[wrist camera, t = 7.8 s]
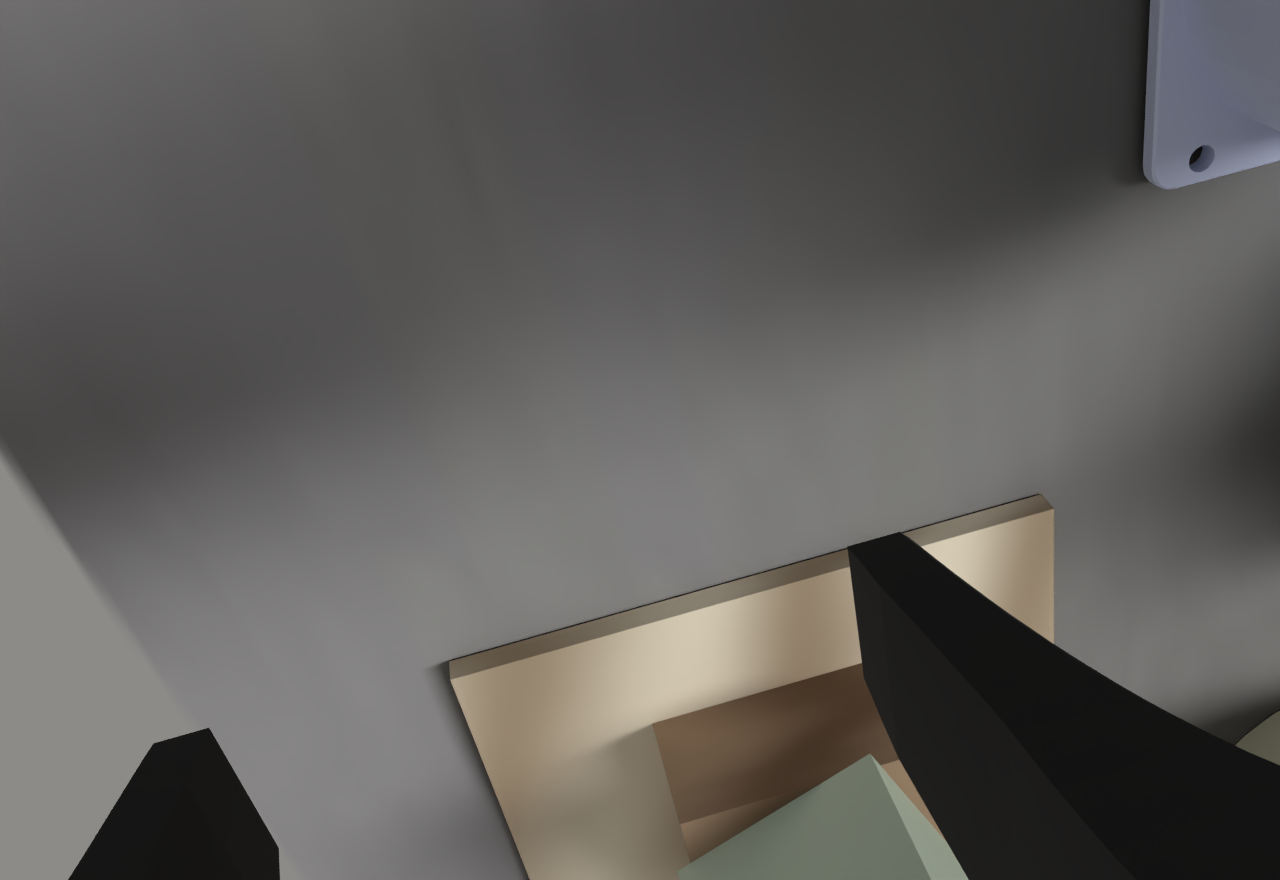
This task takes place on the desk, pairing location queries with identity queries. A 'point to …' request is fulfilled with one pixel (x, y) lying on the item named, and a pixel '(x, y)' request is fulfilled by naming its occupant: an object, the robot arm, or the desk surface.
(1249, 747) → the reusable coffee cup
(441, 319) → the desk surface
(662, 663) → the baseplate
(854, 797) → the sage cube
